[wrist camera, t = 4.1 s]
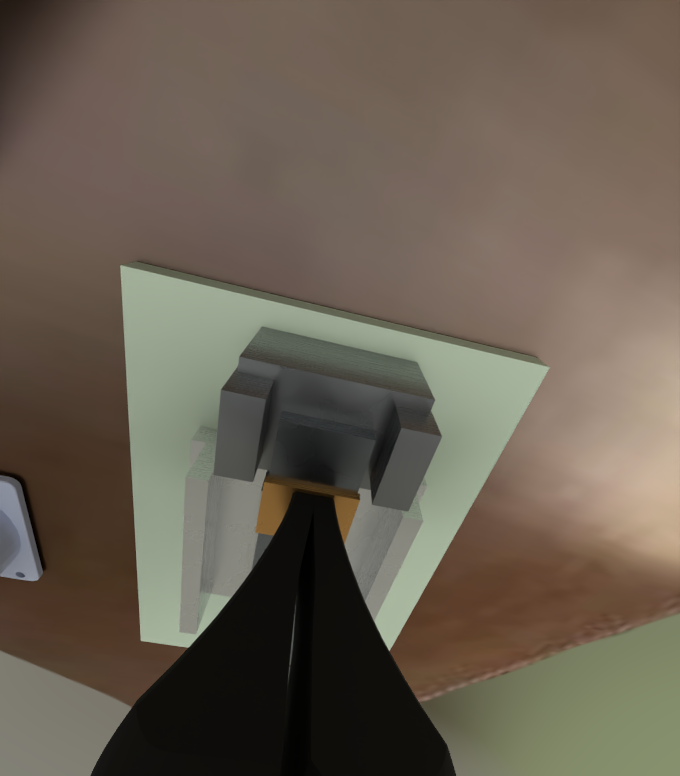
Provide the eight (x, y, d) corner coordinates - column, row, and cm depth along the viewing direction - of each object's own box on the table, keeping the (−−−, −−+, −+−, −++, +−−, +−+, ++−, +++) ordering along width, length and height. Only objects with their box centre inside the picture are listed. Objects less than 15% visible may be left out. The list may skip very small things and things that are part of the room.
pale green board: (148, 624, 23) (141, 640, 22) (136, 261, 13) (120, 265, 12) (375, 657, 25) (376, 674, 24) (536, 357, 14) (549, 367, 13)
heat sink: (191, 571, 19) (166, 630, 16) (200, 426, 15) (167, 473, 12) (364, 600, 20) (367, 659, 17) (422, 470, 16) (438, 524, 13)
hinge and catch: (219, 630, 22) (192, 717, 18) (259, 325, 13) (222, 372, 9) (314, 645, 22) (308, 732, 19) (419, 362, 13) (448, 421, 9)
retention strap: (231, 671, 18) (227, 689, 17) (279, 409, 11) (274, 423, 10) (291, 679, 18) (289, 697, 18) (377, 430, 11) (379, 445, 10)
